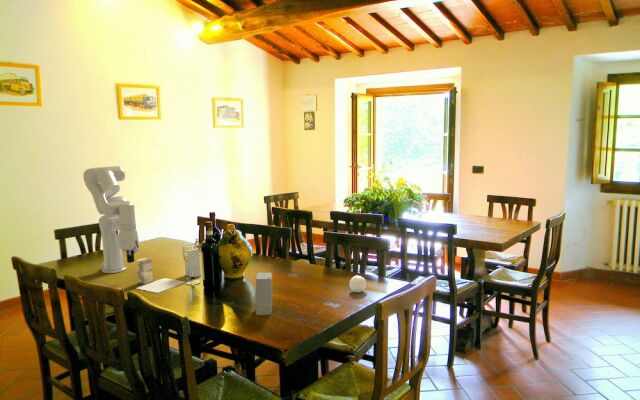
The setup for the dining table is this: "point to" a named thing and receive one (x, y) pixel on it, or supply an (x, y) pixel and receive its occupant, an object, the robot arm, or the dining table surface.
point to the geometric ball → (357, 284)
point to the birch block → (144, 271)
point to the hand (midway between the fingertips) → (130, 261)
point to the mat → (160, 285)
